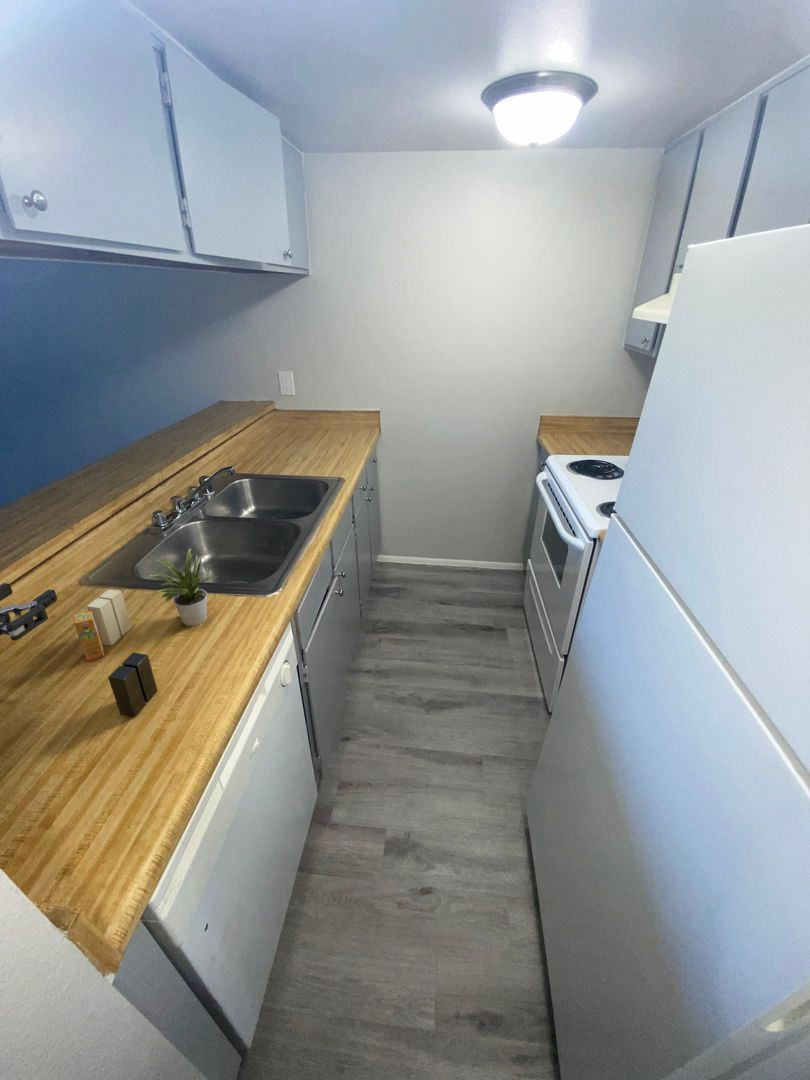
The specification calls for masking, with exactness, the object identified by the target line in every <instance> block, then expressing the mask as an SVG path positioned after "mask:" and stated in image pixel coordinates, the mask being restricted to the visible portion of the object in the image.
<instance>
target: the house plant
mask: <svg viewBox="0 0 810 1080" xmlns="http://www.w3.org/2000/svg"><path fill="white" fill-rule="evenodd" d="M192 557H194V554H192V548H191V547H189V549H188V551H187V553H186V558H185V565H184V569H183V571H184V574H183V573H182V572H181V571H180V570H178V568H177V567H176V566H175V564H173V563H172V562H170V561H164V560H163V559H157V558H155V560H156V561H158V562H160V563H162V564H164V565H165V566H166V567H167V568H168V570H169V571H170V572H171V573H172V574H173V576H175V577H176V578H174V577H172V576H170V575H168V574H165V573H155V574H149V575H148V577H153V579H155V578H156V577H157V576H158V578H164V579H165V580H166V581H165V582H163V583H162V584H161V585H160V586H161V587H162V586H172V587H167V588H162V589H158V590H156V591H154V593H156V594H162V593H164V594H162V596H161V598H160V600H162V599H165V598H166V599H165V603H164V604H166V603H167V602H170V601H171V600H172V599H173V603H174V605H175V608H176V611H177V612H178V614H179V617H180V619H181V621H182V623H183V624H184V625H185V626H189V627H192V626H193V627H195V626H198V625H200V624H202V623H204V622H205V621H206V620H207V617H208V593H207V591H206V590H205V589H202V588H201V586H202V585H203V583H205V582H206V581H208V580H210V579H212V578H216V576H215V575H209V576H208V577H206V578H204V579H203V580H202V581H201V578H202V577H204V574H205V573H206V572H207V570H208V569H209V567H207V568H206V569H205V571H204V572H203V573H202V574H201V575H199V572H200V570H201V566H202V557H200V559H199V560H198V555H197V554H196V556H195V560H194V565H193V570H192ZM198 561H199V562H198ZM145 578H147V575H146V576H145ZM200 581H201V582H200ZM199 582H200V584H199Z"/></svg>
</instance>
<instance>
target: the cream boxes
mask: <svg viewBox="0 0 810 1080" xmlns="http://www.w3.org/2000/svg"><path fill="white" fill-rule="evenodd" d="M86 608H87V612H88V611H91V612H92V614H93V617H94V620H95V624H96V627H97V630H98V633H99V636H100V639H101V642H102V645H103V646H108V647H109V646H110V647H112V646H114V645H115V644H116V643H117V642H118V641H119V640H120V639H122V636H124V635H125V634H126V633H128V632H129V631H130V630H131V629H132V624H131V620H130V617H129V613H128V609H127V605H126V603H125V599H124V595H123V593H122V590H118V589H111V588H108V589H107V590H106V591H104V592H103V593H102V594H101V595H99V596H98V597H96V599H94V600H93V601H92V602H91V603H89V604H88V605H86Z"/></svg>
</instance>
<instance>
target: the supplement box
mask: <svg viewBox="0 0 810 1080" xmlns="http://www.w3.org/2000/svg"><path fill="white" fill-rule="evenodd" d="M72 619H73V623H74V626H75V630H76V633H77V636H78V639H79V641H80V645H81V647H82V648H81V649H82V651H83V654H84V657H85V661H87V662H90V661H92V660H93V661H94V660H96V659H100V658H103V657H105V652H104V651H105V650H104V645H102V642H101V639H100V636H99V633H98V630H97V627H96V624H95V620H94V617H93V614H92V612H91V611H88V610H87V612H86V611H85V612H82V613H77V614H73V615H72Z"/></svg>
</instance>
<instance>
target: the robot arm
mask: <svg viewBox="0 0 810 1080" xmlns="http://www.w3.org/2000/svg"><path fill="white" fill-rule="evenodd" d="M13 592H14V591H13V589H12V586H11V584H10V583H8V582H3V583H1V584H0V602H2V601H3V600H5V599H7V598H8V597H9V596H11V595H12V594H13ZM57 601H58V595H57V593H56V591H55V590H54V589H47V590H45V591H44V592H43V593H41V594H39V595H38V596H36V597H34V598H33V599H32V600H31V601H29V602H26V603H23V604H16V603H15V604H10V605H6V606H4V607H2V606H1V607H0V637H1V636H3V635H7V636H9V637H10V639H11V641H18V640H20V639H21V638H23V637H24V636H26V635H27V634H28V633H30V632H31V631H33V630H34V629H36V628H38V627H39V626H41V625H42V624H43V623H45V622H46V621H48V620H49V617H48V613H47V611H46V609H48V608H49V607H51V606H52V605H53V604H55V603H56V602H57ZM27 610H28V611H27ZM25 611H26V612H25ZM22 612H25V613H23V614H22ZM10 613H13V614H14V616H15V619H12V618H11V615H10Z"/></svg>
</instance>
